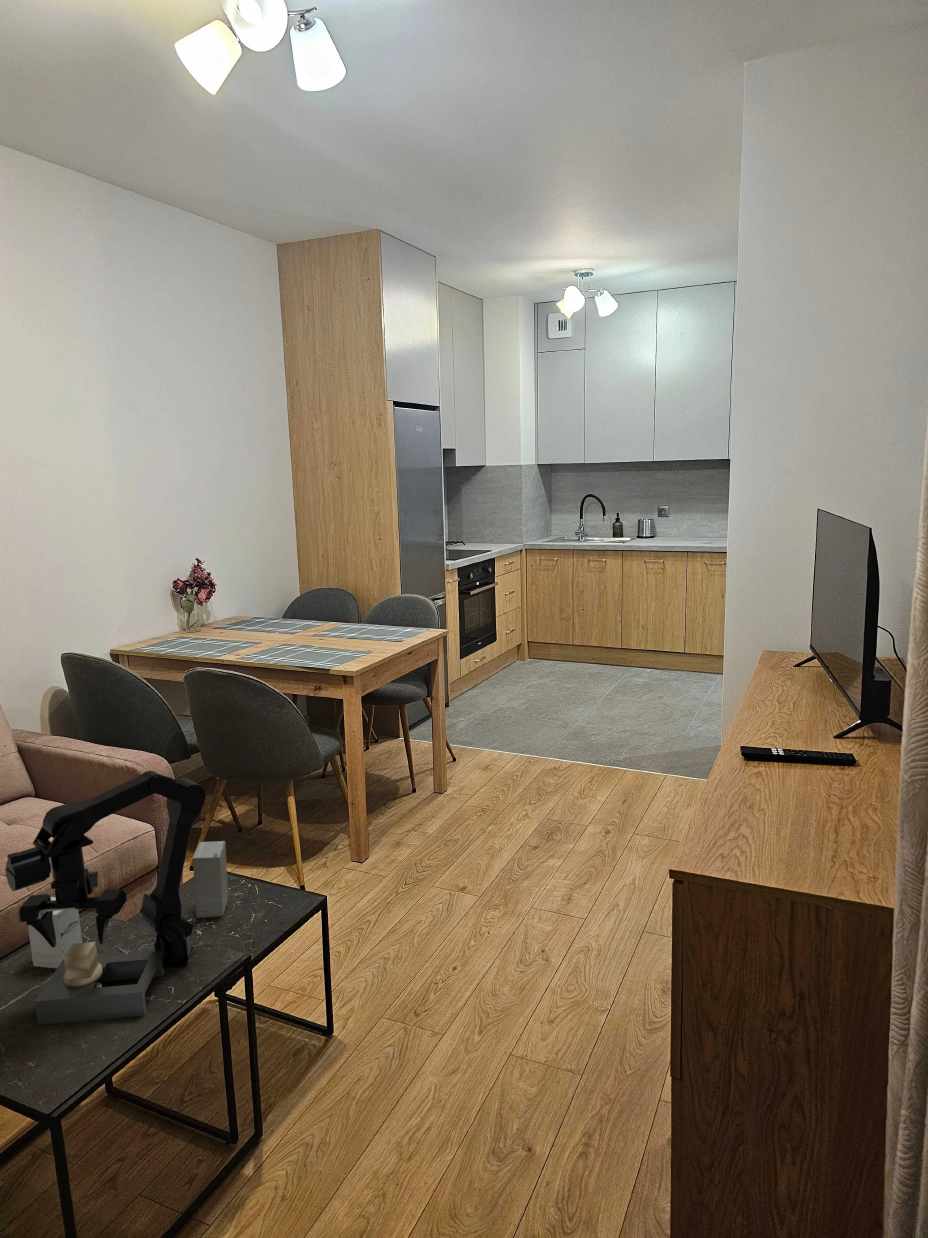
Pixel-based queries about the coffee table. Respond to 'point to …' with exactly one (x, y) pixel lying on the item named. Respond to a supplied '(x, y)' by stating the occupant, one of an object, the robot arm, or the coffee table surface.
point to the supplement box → (65, 937)
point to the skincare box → (210, 879)
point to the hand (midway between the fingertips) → (78, 944)
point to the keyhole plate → (100, 991)
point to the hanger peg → (82, 965)
